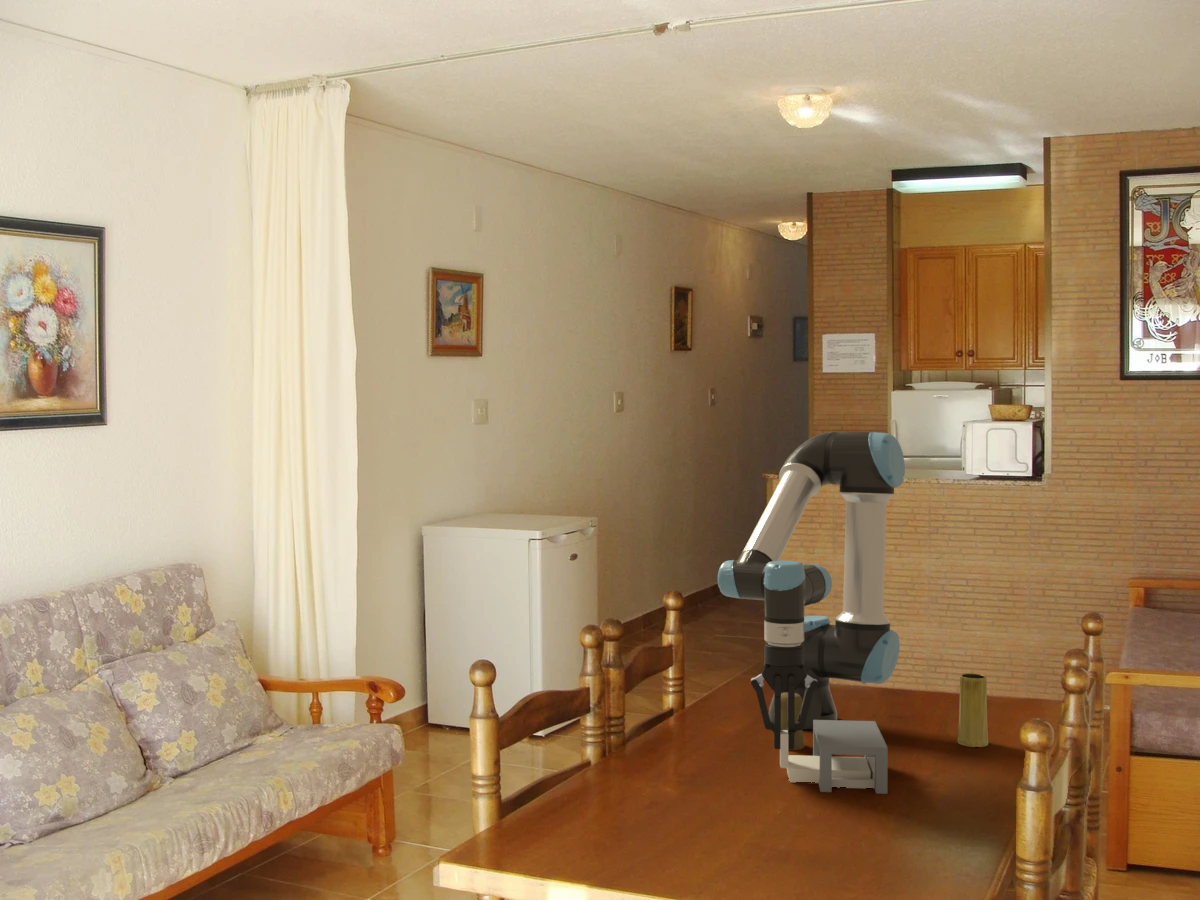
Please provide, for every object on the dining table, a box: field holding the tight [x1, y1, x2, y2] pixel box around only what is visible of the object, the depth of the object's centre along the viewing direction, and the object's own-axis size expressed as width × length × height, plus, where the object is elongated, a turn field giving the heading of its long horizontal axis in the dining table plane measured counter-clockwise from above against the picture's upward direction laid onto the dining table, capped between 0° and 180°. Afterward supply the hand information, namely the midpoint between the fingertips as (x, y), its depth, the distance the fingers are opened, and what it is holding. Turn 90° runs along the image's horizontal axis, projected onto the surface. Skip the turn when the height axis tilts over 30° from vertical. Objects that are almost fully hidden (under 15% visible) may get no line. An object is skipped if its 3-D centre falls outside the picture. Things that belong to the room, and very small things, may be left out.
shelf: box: [812, 719, 889, 795], centre depth 224 cm, size 18×12×8 cm, turn 174°
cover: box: [786, 754, 871, 784], centre depth 225 cm, size 9×15×3 cm, turn 84°
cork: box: [781, 692, 805, 751], centre depth 245 cm, size 6×6×11 cm
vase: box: [957, 672, 989, 748], centre depth 246 cm, size 6×6×14 cm
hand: (784, 765), depth 225 cm, fingers closed
